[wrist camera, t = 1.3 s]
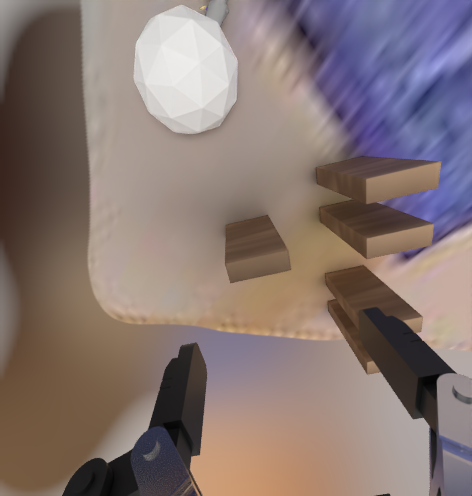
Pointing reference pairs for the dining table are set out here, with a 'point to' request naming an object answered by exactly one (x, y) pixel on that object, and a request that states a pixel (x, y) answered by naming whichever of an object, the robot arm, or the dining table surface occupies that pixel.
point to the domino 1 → (254, 250)
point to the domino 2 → (379, 177)
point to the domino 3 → (376, 228)
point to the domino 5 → (351, 336)
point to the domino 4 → (369, 296)
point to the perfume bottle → (187, 68)
